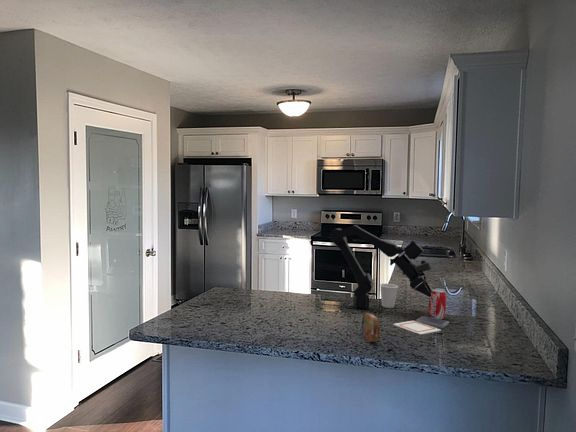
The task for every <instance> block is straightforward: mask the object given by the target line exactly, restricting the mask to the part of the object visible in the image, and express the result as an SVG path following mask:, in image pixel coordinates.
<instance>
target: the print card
mask: <svg viewBox="0 0 576 432" xmlns="http://www.w3.org/2000/svg"><path fill="white" fill-rule="evenodd" d="M392 325H393V326H395V327H398V328H401V329H404V330H407V331H410V332H413V333H415V334H418V335H427V334H431V333H436V332H437V333H438V332H441V331H442V329H441V328H440V329H439V328H438V327H434V326H430V325H425V324H422V323H419V322H416V320H409V321H408V320H407V321H403V322H396V323H392Z"/></svg>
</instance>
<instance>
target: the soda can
mask: <svg viewBox="0 0 576 432" xmlns="http://www.w3.org/2000/svg"><path fill="white" fill-rule="evenodd" d="M431 290H432V291H431V295H432V296H431V297H429V296H428V297H429V298H428V299H429V300H428V317H430V318H435V319H440V320H444V319H445V318H446V312H447V311H446V310H447V294H446V290H444V289H439V288H433V289H431Z"/></svg>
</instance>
